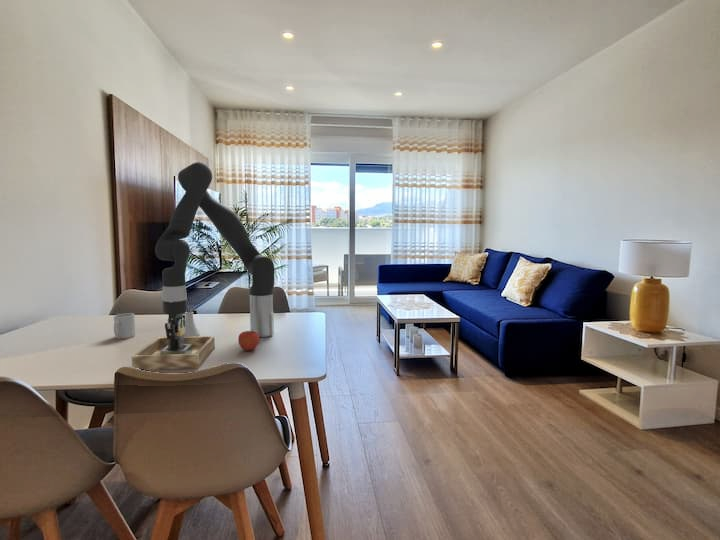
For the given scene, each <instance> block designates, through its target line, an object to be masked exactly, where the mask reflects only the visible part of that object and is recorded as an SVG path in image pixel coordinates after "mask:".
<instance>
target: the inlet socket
mask: <svg viewBox="0 0 720 540" xmlns="http://www.w3.org/2000/svg"><path fill="white" fill-rule="evenodd" d="M192 352H193V350H192V344H184V349H183V350H168V345H167V346H166V347H165V348H164V349H162V350H161V351H160V355H173V354H191V353H192Z"/></svg>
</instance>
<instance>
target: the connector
mask: <svg viewBox="0 0 720 540" xmlns="http://www.w3.org/2000/svg"><path fill="white" fill-rule="evenodd" d="M175 330H177V329H175ZM184 333H185V327H183V328H180V330H179V332H178V349H177V350H183V349H184ZM171 334H172V333H171ZM172 335H173V334H172ZM165 337H167V335H166V336H165ZM168 350H171V346H170V340H169V339H168Z"/></svg>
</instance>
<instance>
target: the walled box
mask: <svg viewBox="0 0 720 540" xmlns="http://www.w3.org/2000/svg"><path fill="white" fill-rule="evenodd" d="M215 338H216V337H215V336H212V335H211V336H210V335H209V336H205V335H204V336H197V337H184V344H192V350H193V352H192V353H191V354H173V355H160V351H161V350H162V349H164V348H165V347H166V346H167V345H168V339H167V336H163V337H162V336H161V337H160V336H158V337H157V338H155V339H154V340H152V341H151V342H150V343H148V344H147V345H145V346H144V347H143V348H141V349H140V350H139V351H137V352H135V353H134V354H133V355H132V356H131V368H132V367H134V368H139V369H144V370H143V371H154V370H155V371H156V370H158V371H159V370H187V369H188V370H193V369H195V370H196V369H199V368H200V367H201V366H202V365H203V364H204V362H205V361H206V359H208V358H209V356H210V355H211V354H212V352H213V351H214V350H215V348H216V346H215V345H216V340H215Z"/></svg>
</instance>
